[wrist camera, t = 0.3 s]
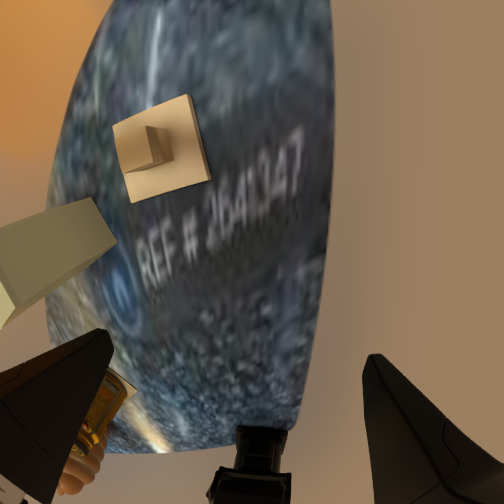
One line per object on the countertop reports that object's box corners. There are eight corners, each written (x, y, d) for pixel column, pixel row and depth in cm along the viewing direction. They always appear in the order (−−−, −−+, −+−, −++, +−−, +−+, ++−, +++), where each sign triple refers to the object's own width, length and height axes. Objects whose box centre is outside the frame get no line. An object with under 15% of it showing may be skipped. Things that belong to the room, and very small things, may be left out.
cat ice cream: (80, 395, 35) (27, 469, 18) (120, 417, 34) (72, 500, 18) (88, 421, 38) (45, 486, 21) (123, 439, 38) (85, 511, 21)
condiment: (120, 405, 33) (85, 463, 22) (76, 369, 32) (33, 421, 21) (138, 389, 31) (98, 457, 20) (88, 347, 30) (35, 407, 19)
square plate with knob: (211, 178, 21) (192, 184, 17) (137, 201, 22) (107, 212, 18) (190, 96, 19) (167, 84, 15) (118, 126, 20) (86, 124, 16)
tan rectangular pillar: (117, 242, 24) (15, 307, 12) (89, 266, 25) (-1, 329, 13) (91, 196, 23) (-21, 236, 11) (64, 225, 24) (-32, 271, 12)
